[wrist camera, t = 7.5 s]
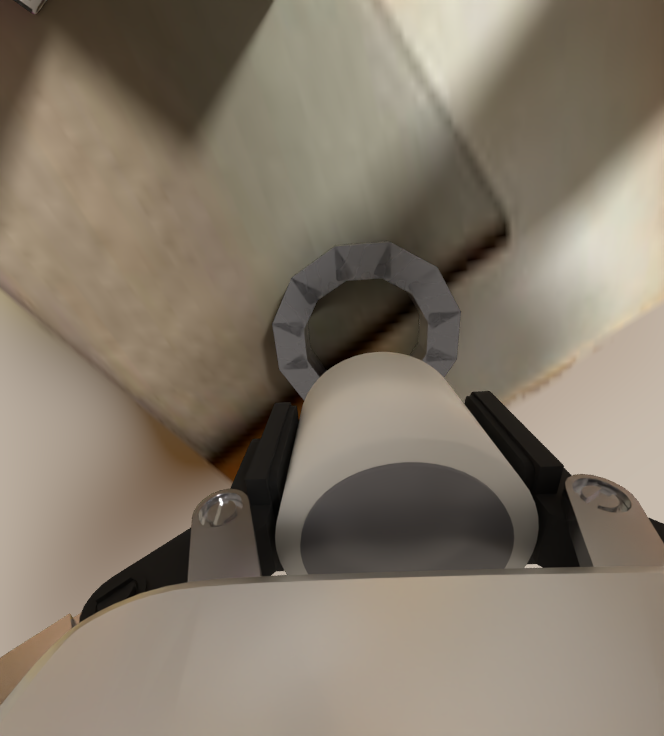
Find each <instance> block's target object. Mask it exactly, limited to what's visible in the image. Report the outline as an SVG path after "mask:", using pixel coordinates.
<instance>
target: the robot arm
mask: <svg viewBox="0 0 664 736" xmlns="http://www.w3.org/2000/svg"><path fill="white" fill-rule="evenodd" d="M465 406H466V407H467V408H468V410H469V411H470V412H471V414H472V415H473V416H474V418H475V419H476V420H477V422H478V423H479V424H480V425H481V427H482V428H483V429H484V431H485V432H486V433H487V435H488V436H489V437H490V439H491V440H492V441H493V443H494V444H495V445H496V447H497V448H498V449H499V450H500V452H501V453H502V454H503V456H504V457H505V458H506V460H507V461H508V462H509V464H510V465H511V466H512V468H513V469H514V470H515V471H516V473H517V474H518V475H519V477H520V478H521V479H522V481H523V482H524V484H525V485H526V486H527V488H528V489H529V491H530V493H531V495H532V497H533V500H534V502H535V505H536V509H537V513H538V524H539V530H538V536H537V542H536V545H535V548H534V551H533V553H532V555H531V557H530V559H529V561H528V563H527V564H538V565H539V566H541V567H543V568H514V569H474V570H436V571H401V572H368V573H338V574H308V575H282V576H271V575H272V574H273V573H274V572H276V571H284V569H283V567H282V565H281V562H280V560H279V557H278V553H277V550H276V542H275V531H276V523H277V518H278V514H279V509H280V505H281V500H282V496H283V491H284V487H285V482H286V478H287V473H288V469H289V464H290V460H291V455H292V451H293V446H294V442H295V437H296V433H297V428H298V424H299V419H298V412H297V406H292V405H291V402H283V403H275V404H274V407H273V409H272V412H271V414H270V417H269V419H268V422H267V424H266V427H265V429H264V432H263V434H262V437H261V439H253V440H252V441H251V443H250V445H249V447H248V449H247V452H246V454H245V456H244V459H243V461H242V463H241V465H240V468H239V470H238V472H237V475H236V477H235V479H234V481H233V484H232V486H231V488H230V489H225V490H220V491H218V492H215V493H213V494H211V495H209V496H208V497H206V498H205V499H204V500H202V502H200V503H199V504H198V506H197V507H196V509H195V510H194V513H193V516H192V525H191V528H190V529H188V530H186V531H185V532H183V533H182V534H180V535H178V536H177V537H175V538H174V539H172V540H170V541H169V542H167V543H166V544H164V545H163V546H161V547H159V548H158V549H156V550H155V551H153V552H151V553H150V554H148V555H147V556H145V557H144V558H142V559H140V560H139V561H137V562H136V563H134V564H132V565H131V566H129V567H128V568H126V569H124V570H123V571H121V572H120V573H118V574H117V575H115V576H113V577H112V578H111V579H109V580H108V581H107V582H105V583H104V584H103V585H101V586H100V587H99V588H98V589H97V590H96V591H95V592H94V593H93V594H92V596H91V597H90V598H89V600H88V601H87V603H86V604H85V606H84V608H83V610H82V612H81V613H80V614H78V615H77V616H75V617H74V618H73V617H72V616H71V614H68V615H66V616H65V617H64V618H62V619H60V620H58V621H57V622H55V623H54V624H52V625H51V626H49V627H47V628H46V629H44V630H43V631H41V632H40V633H38V634H36V635H35V636H33V637H32V638H30V639H29V640H27V641H25V642H24V643H22V644H21V645H19V646H17V647H16V648H14V649H13V650H11V651H10V652H8V653H6V654H5V655H3V656H2V657H1V658H0V736H664V524H663V523H660V522H658V521H656V520H653V519H651V518H648V517H647V515H646V513H645V512H644V510H643V508H642V507H641V505H640V503H639V502H638V501H637V499H636V498H635V497H634V496H633V494H631V493H630V492H629V491H627V490H626V489H625V488H623V487H622V486H620V485H618V484H616V483H614V482H612V481H610V480H607V479H605V478H601V477H598V476H594V475H585V474H577V475H573V476H572V475H571V474H570V473H569V472H567V470H566V469H565V468H564V466H563V464H562V463H561V462H560V461H559V460H558V459H557V458H556V457H555V456H554V455H553V454H552V453H551V452H550V451H549V450H548V449H547V448H546V447H545V446H544V445H543V444H542V443H541V442H540V441H539V440H538V439H537V438H536V437H535V436H534V435H533V434H532V433H531V432H530V431H529V430H528V429H527V428H526V427H525V426H524V425H523V424H522V423H521V422H520V421H519V420H518V419H517V418H516V417H515V416H514V415H513V414H512V413H511V412H510V411H509V410H508V409H507V408H506V407H505V406H504V405H503V404H502V403H501V402H500V401H499V400H498V399H497V398H496V397H495V396H494V395H493V394H492V393H491V392H490V391H482V392H472V393H471V395H470V396H467V397H466V399H465Z"/></svg>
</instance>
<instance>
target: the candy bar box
mask: <svg viewBox="0 0 664 736" xmlns="http://www.w3.org/2000/svg"><path fill="white" fill-rule="evenodd" d="M14 1H15V2H17V3H18V4H19V5H21V6H22V7H24V8H25V9H27V10H28V11H30V12H31V13H32V14H37V13H38V11H39V10H40V9H41V8H42V6H43V4H44V3H45V2H46V1H47V0H14Z"/></svg>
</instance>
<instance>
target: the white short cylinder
mask: <svg viewBox="0 0 664 736" xmlns="http://www.w3.org/2000/svg"><path fill="white" fill-rule="evenodd" d="M538 530H539V524H538V513H537V509H536V505H535V502H534V500H533V497H532V495H531V493H530V491H529V489H528V488H527V486H526V485H525V484H524V482H523V481H522V479H521V478H520V477H519V475H518V474H517V473H516V471H515V470H514V469H513V468H512V466H511V465H510V464H509V462H508V461H507V460H506V458H505V457H504V456H503V454H502V453H501V452H500V450H499V449H498V448H497V447H496V445H495V444H494V443H493V441H492V440H491V439H490V437H489V436H488V435H487V433H486V432H485V431H484V429H483V428H482V427H481V425H480V424H479V423H478V422H477V420H476V419H475V418H474V416H473V415H472V414H471V412H470V411H469V410H468V408H467V407H466V406H465V404H464V403H463V402H462V401H461V399H460V398H459V397H458V395H457V394H456V393H455V391H454V390H453V389H452V387H451V386H450V385H449V383H448V382H447V381H446V380H445V378H444V377H443V376H442V375H441V374H440V373H439V372H438V371H437V370H435V369H434V368H433V367H431V366H430V365H428V364H427V363H425V362H423V361H421V360H419V359H417V358H414V357H412V356H408V355H404V354H400V353H393V352H373V353H365V354H361V355H357V356H354V357H351V358H349V359H346V360H344V361H342V362H340V363H338V364H336V365H334V366H333V367H332V368H330V369H329V370H327V371H326V372H325V373H324V374H323V375H322V376H321V377H320V378H319V379H318V380H317V381H316V382H315V383H314V385H313V386H312V387H311V389H310V391H309V392H308V394H307V396H306V398H305V401H304V403H303V407H302V410H301V415H300V419H299V424H298V428H297V433H296V437H295V442H294V446H293V451H292V455H291V460H290V464H289V469H288V473H287V478H286V482H285V487H284V491H283V496H282V500H281V505H280V509H279V514H278V518H277V523H276V531H275V542H276V550H277V553H278V557H279V560H280V562H281V565H282V567H283V569H284V571H285V572H286V574H287V575H308V574H338V573H368V572H401V571H436V570H474V569H514V568H524V567H525V566H526V564H527V563H528V561H529V559H530V557H531V555H532V553H533V551H534V548H535V545H536V542H537V536H538Z"/></svg>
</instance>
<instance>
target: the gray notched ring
mask: <svg viewBox="0 0 664 736" xmlns="http://www.w3.org/2000/svg"><path fill="white" fill-rule="evenodd" d="M377 278H382V279H384V280H386V281H388V282H390V283H392V284H394V285H396V286H397V287H399V288H401V289H403V290H405V291H407V293H408V295H409V297H410V298H411V300H412V302H413V304H414V305H415V307H416V309H417V310H418V312H419V331H418V343H417V344H416V346H415V348H414V349H413V351H412V352H411V354H410V356H412V357H414V358H417V359H419V360H421V361H423V362H425V363H427V364H428V365H430V366H431V367H433V368H434V369H435V370H437V371H438V372H439V373H440V374H441V375H442V376H443V377H445V375H446V374H447V373H448V371H449V370H450V368H451V367H452V365H453V364H454V362H455V361H456V360H457V350H458V338H459V327H460V316H461V311H460V309H459V307H458V305H457V304H456V302H455V300H454V298H453V296H452V294H451V292H450V290H449V288H448V287H447V285H446V283H445V281H444V279H443V277H442V275H441V273H440V271H439V270H438V267H436V266H434V265H432V264H430V263H428V262H427V261H425V260H423V259H421V258H419V257H417V256H415V255H413V254H412V253H410V252H408V251H406V250H404V249H402V248H400V247H399V246H397V245H395V244H393V243H391V242H388V241H383V242H371V243H358V244H346V245H335V246H334V247H333V248H331V249H330V250H329V251H327V252H326V253H325V254H323V255H322V256H320V257H319V258H318V259H316V260H315V261H314V262H312V263H311V264H309V265H308V266H307V267H305V268H304V269H303V270H301V271H300V272H299V273H297V274H295V275H294V276H293V277H292V278H291V280H290V283H289V285H288V288H287V290H286V292H285V295H284V297H283V300H282V302H281V305H280V307H279V309H278V312H277V314H276V317H275V319H274V321H273V323H272V325H273V332H274V338H275V345H276V351H277V358H278V364H279V370H280V371H281V372H282V374H283V375H284V376H285V377H286V379H287V380H288V381H289V382H290V384H291V385H292V386H293V387H294V389H295V390H296V391H297V392H298V393H299V395H300V396H301V397H302V398H303V400H304V401H305V398H306V396H307V394H308V392H309V391H310V389H311V387H312V386H313V385H314V383H315V382H316V381H317V380H318V379H319V378H320V377H321V376H322V375H323V374H324V373H325V372H326V371H327V370H326V368H325V367H324V366H323V364H322V363H321V362H320V360H319V359H318V358H317V356H316V355H315V354H314V352H313V351H312V350H311V347H310V338H309V328H308V320H309V318H310V316H311V313H312V311H313V309H314V307H315V305H316V303H317V300H319V299H320V298H322V297H323V296H325V295H326V294H328V293H329V292H331V291H332V290H333V289H335V288H336V287H338V286H339V285H341V284H342V283H344V282H345V281H350V280H364V279H377Z"/></svg>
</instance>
